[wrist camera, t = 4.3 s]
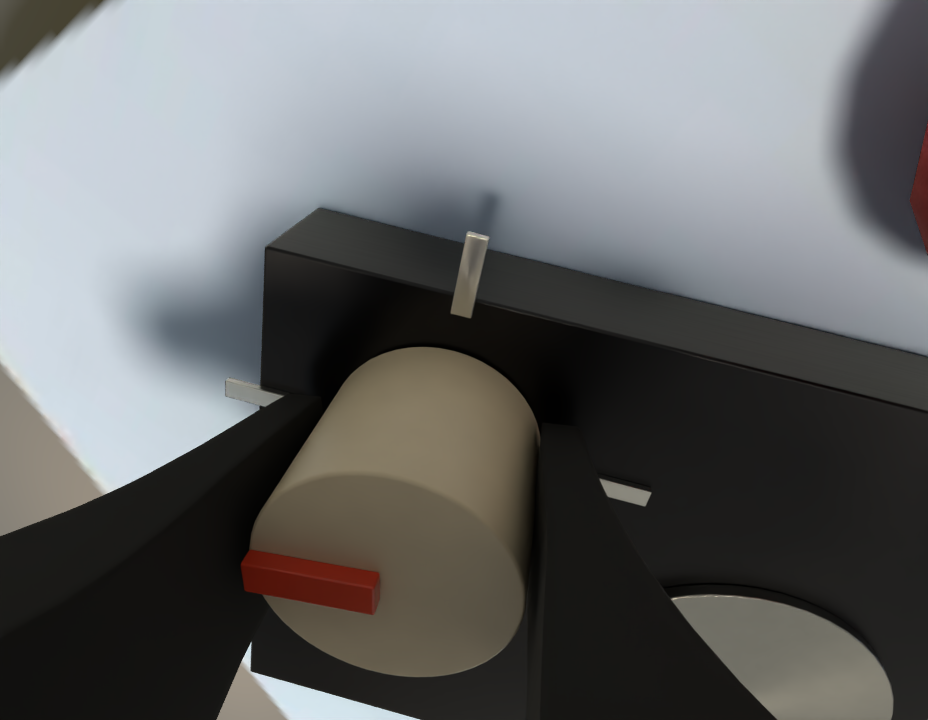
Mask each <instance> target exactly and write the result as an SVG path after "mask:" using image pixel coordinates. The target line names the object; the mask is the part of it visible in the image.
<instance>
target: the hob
mask: <svg viewBox="0 0 928 720" xmlns="http://www.w3.org/2000/svg"><path fill="white" fill-rule="evenodd" d="M489 239H490V237H489V236H486V235H482V234H477V233H473V232H469V231H468V232H467V234H466V238H465V243H464V244H463V243H459V242H455V241H451V240H447V239H443V238H439V237H435V236H431V235H427V234H423V233H419V232H414V231H410V230H406V229H402V228H398V227H394V226H390V225H386V224H382V223H378V222H374V221H370V220H366V219H362V218H357V217H353V216H349V215H345V214H341V213H337V212H333V211H329V210H325V209H321V208H318V209H316V210H315V211H314V212H312V213H311V214H310V215H308V216H307V217H305V218H304V219H303V220H301V221H300V222H299V223H297V224H296V225H294V226H293V227H292V228H290V229H289V230H288V231H286V232H285V233H283V234H282V235H281V236H279V237H278V238H277V239H275V240H274V241H272V242H271V243H270V244H268V245H267V246H266V247H265V263H264V292H263V322H262V351H261V380H260V385H257V384H253V383H249V382H245V381H242V380H238V379H234V378H230V377H229V378H228V379H227V380H226V381H225V396H226V397H230V398H234V399H238V400H242V401H245V402H249V403H253V404H257V405H260V409H262V408H264V407H265V406H267V405H269V404H271V403H272V402H274V401H276V400H278V399H279V398H281V397H283V396H285V395H287V394H289V393H292V394H301V395H310V396H318V397H321V401H322V411H323V414H324V413H325V411H326V409H327V408H328V406H329V405H330V403H331V402H332V400H333V399H334V397H335V396H336V394H337V393H338V391H339V390H340V388H341V386H342V385H343V383H344V382H345V381H346V380H347V378H348V377H349V376H350V375H351V374H352V373H353V372H354V371H355V370H356V369H357V368H359V367H360V366H361V365H363V364H364V363H366V362H367V361H369V360H370V359H372V358H375V357H377V356H379V355H381V354H384V353H387V352H390V351H394V350H398V349H404V348H410V347H433V348H442V349H447V350H452V351H456V352H459V353H462V354H465V355H468V356H470V357H473V358H475V359H477V360H479V361H482V362H483V363H485V364H487V365H488V366H490V367H492V368H493V369H495V370H496V371H498V372H499V373H500V374H501V375H503V376H504V377H505V378H507V379H508V380H509V381H510V382H511V383H512V384H513V385H514V386H515V387H516V388H517V390H518V391H519V392H520V393H521V395H522V396H523V397H524V398H525V400H526V402H527V403H528V405H529V407H530V408H531V410H532V412H533V414H534V417H535V419H536V422H537V425H538V429H539V433H540V439H541V429H542V423H551V424H559V425H568V426H577V427H578V428H579V429H580V430H581V431H582V433H583V436H584V440H585V443H586V446H587V449H588V452H589V455H590V458H591V460H592V463H593V465H594V468H595V470H596V472H597V475H598V477H599V479H600V482H601V484H602V486H603V488H604V490H605V492H606V494H607V496H608V498H609V500H610V502H611V504H612V506H613V508H614V510H615V512H616V514H617V516H618V518H619V519H620V521H621V523H622V525H623V527H624V528H625V530H626V532H627V534H628V535H629V537H630V539H631V540H632V542H633V544H634V545H635V547H636V549H637V550H638V552H639V554H640V555H641V557H642V558H643V560H644V561H645V563H646V564H647V566H648V567H649V569H650V570H651V572H652V573H653V575H654V576H655V578H656V579H657V581H658V582H659V583H660V585H661V586H662V588H669V587H676V586H683V585H700V584H719V585H737V586H745V587H753V588H759V589H764V590H768V591H773V592H778V593H782V594H785V595H788V596H791V597H794V598H797V599H800V600H803V601H806V602H808V603H810V604H812V605H815V606H817V607H819V608H822V609H824V610H825V611H827V612H829V613H831V614H832V615H834V616H836V617H837V618H839V619H841V620H842V621H844V622H845V623H846V624H848V625H849V626H850V627H851V628H853V629H854V630H855V631H857V632H858V633H859V634H860V635H861V636H862V637H863V638H864V639H865V640H866V641H867V642H868V643H869V644H870V646H871V647H872V648H873V650H874V651H875V653H876V654H877V656H878V657H879V659H880V660H881V662H882V665H883V667H884V669H885V671H886V674H887V676H888V678H889V681H890V683H891V687H892V693H893V698H894V701H893V715H892V718H891V720H928V358H927V357H923V356H919V355H915V354H911V353H907V352H903V351H899V350H895V349H891V348H887V347H883V346H878V345H874V344H870V343H866V342H862V341H858V340H854V339H850V338H846V337H842V336H838V335H834V334H830V333H826V332H821V331H817V330H813V329H809V328H805V327H801V326H797V325H793V324H789V323H785V322H781V321H777V320H773V319H769V318H765V317H760V316H756V315H752V314H748V313H744V312H740V311H736V310H732V309H728V308H724V307H720V306H716V305H712V304H708V303H703V302H699V301H695V300H691V299H687V298H683V297H679V296H675V295H671V294H667V293H663V292H659V291H655V290H651V289H646V288H642V287H638V286H634V285H630V284H626V283H622V282H618V281H614V280H610V279H606V278H602V277H598V276H594V275H589V274H585V273H581V272H577V271H573V270H569V269H565V268H561V267H557V266H553V265H549V264H545V263H541V262H537V261H533V260H528V259H524V258H520V257H516V256H512V255H508V254H504V253H500V252H496V251H492V250H488V249H487V248H488V243H489ZM251 671H252V672H255V673H258V674H262V675H265V676H269V677H272V678H276V679H279V680H283V681H287V682H290V683H294V684H297V685H301V686H304V687H308V688H311V689H315V690H318V691H322V692H325V693H329V694H332V695H336V696H339V697H343V698H346V699H350V700H353V701H357V702H360V703H364V704H367V705H371V706H374V707H378V708H381V709H385V710H389V711H392V712H396V713H399V714H403V715H406V716H410V717H413V718H417V719H420V720H526V708H527V601H526V610H525V613H524V617H523V621H522V623H521V625H520V627H519V629H518V631H517V633H516V634H515V636H514V637H513V638H512V640H511V641H510V642H509V644H508V645H507V646H506V647H505V648H504V649H503V650H502V651H501V652H499V653H498V654H497V655H495V656H494V657H493V658H491V659H490V660H488V661H486V662H484V663H482V664H480V665H478V666H476V667H474V668H471V669H468V670H465V671H462V672H458V673H454V674H449V675H443V676H434V677H407V676H397V675H390V674H384V673H380V672H375V671H371V670H367V669H364V668H361V667H358V666H355V665H352V664H349V663H347V662H345V661H342V660H340V659H337V658H335V657H333V656H331V655H329V654H327V653H326V652H324V651H322V650H320V649H318V648H317V647H315V646H314V645H312V644H310V643H309V642H307V641H306V640H305V639H303V638H302V637H301V636H299V635H298V634H297V633H295V632H294V631H293V630H292V629H291V628H290V627H289V626H288V625H286V624H285V623H284V622H283V621H282V620H281V618H280V617H279V616H278V615H277V614H276V613H275V612H274V611H273V609H272V608H271V607H270V608H269V610H268V612H267V614H266V615H265V617H264V619H263V621H262V623H261V624H260V626H259V628H258V630H257V632H256V633H255V635H254V637H253V639H252V644H251Z"/></svg>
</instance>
